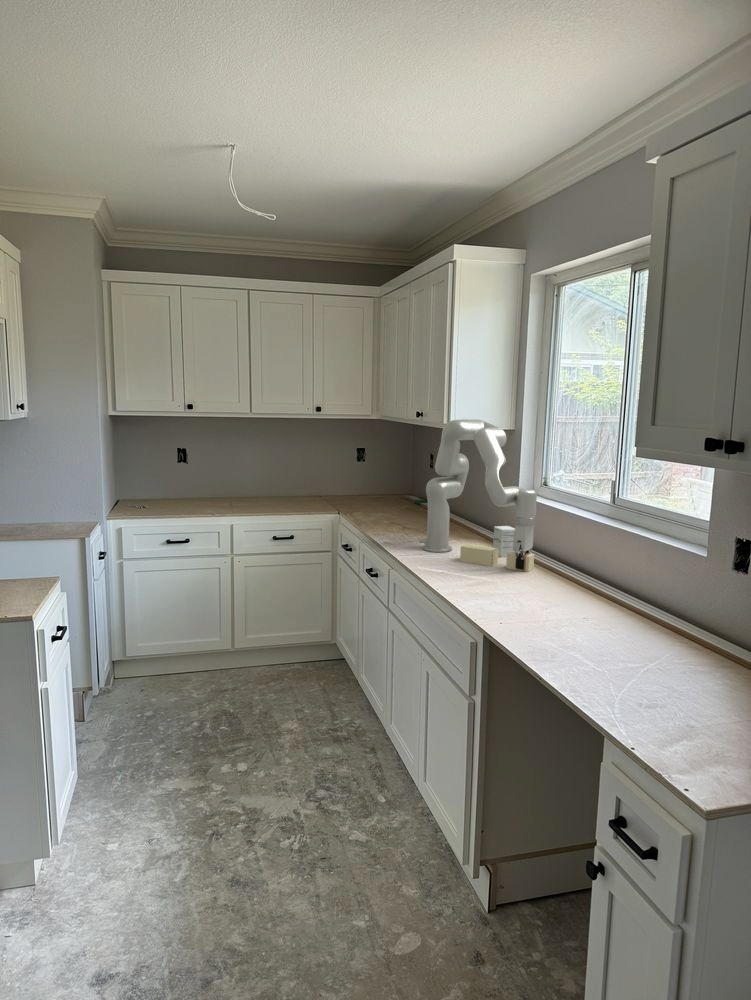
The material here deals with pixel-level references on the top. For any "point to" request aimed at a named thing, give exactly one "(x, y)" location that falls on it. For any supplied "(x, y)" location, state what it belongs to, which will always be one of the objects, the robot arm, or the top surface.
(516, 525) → the robot arm
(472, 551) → the block
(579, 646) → the top surface
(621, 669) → the top surface
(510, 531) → the supplement box
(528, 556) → the stub
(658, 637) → the top surface
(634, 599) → the top surface
